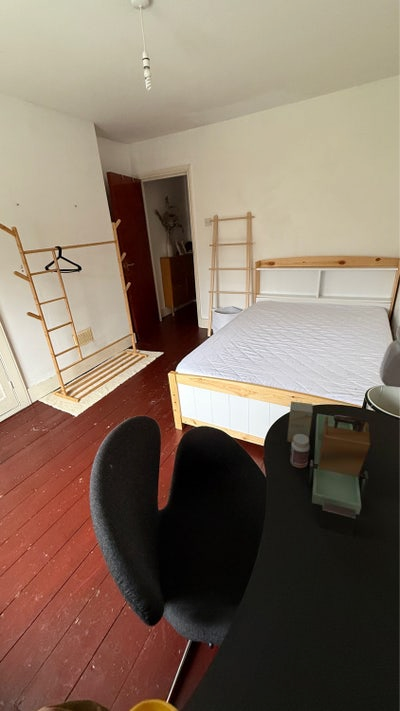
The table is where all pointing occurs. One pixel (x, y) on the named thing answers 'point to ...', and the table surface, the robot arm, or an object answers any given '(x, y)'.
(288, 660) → the table surface
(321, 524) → the cradle
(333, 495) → the tray
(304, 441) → the pill bottle
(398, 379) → the robot arm
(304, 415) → the cosmetic box
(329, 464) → the open cardboard crate
